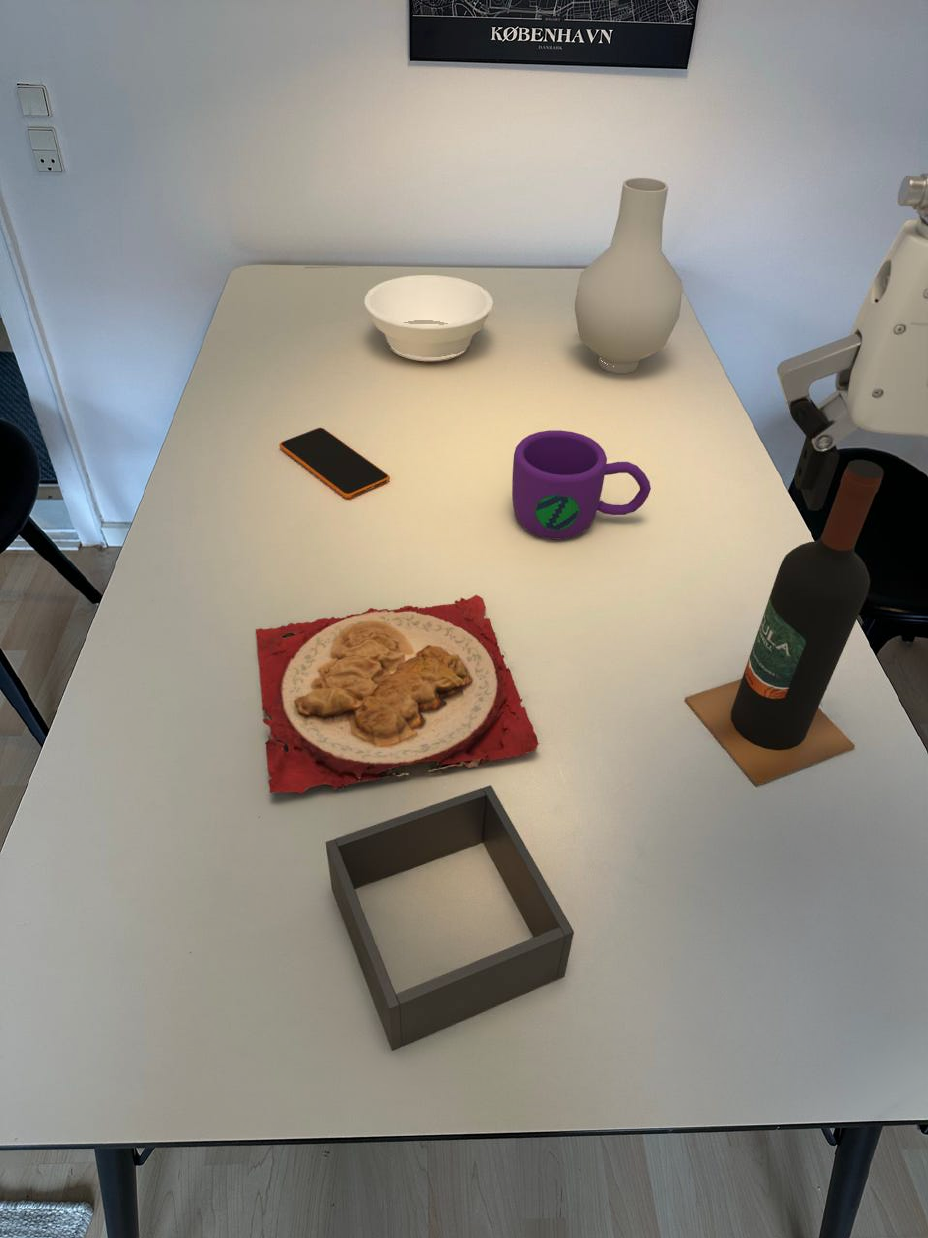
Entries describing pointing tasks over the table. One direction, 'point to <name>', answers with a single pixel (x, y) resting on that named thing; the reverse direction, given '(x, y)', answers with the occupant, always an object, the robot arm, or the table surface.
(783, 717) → the wine bottle
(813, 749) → the cork mat
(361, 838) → the grey square tray frame
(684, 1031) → the table surface
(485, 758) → the plate with food
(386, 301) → the bowl
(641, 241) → the vase
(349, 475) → the smartphone
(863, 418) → the robot arm
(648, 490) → the mug
